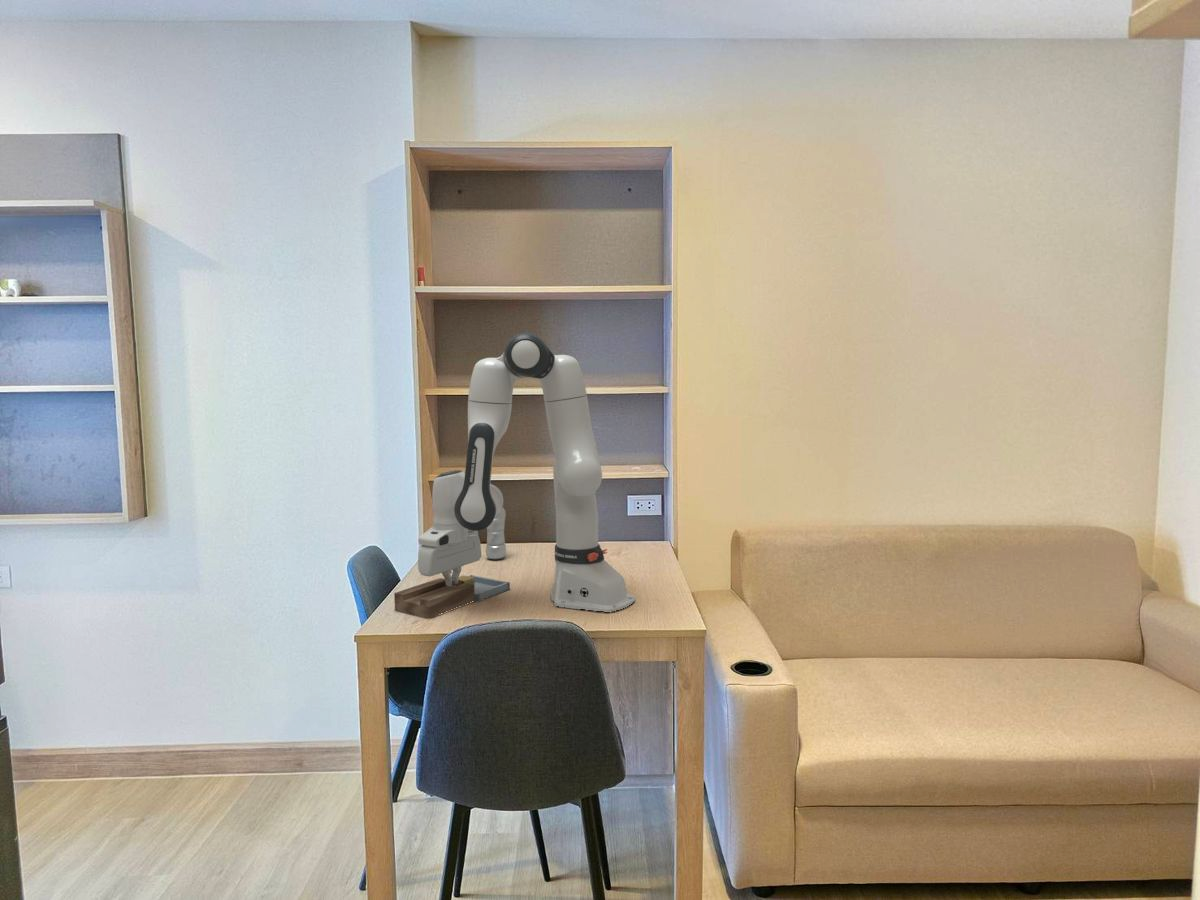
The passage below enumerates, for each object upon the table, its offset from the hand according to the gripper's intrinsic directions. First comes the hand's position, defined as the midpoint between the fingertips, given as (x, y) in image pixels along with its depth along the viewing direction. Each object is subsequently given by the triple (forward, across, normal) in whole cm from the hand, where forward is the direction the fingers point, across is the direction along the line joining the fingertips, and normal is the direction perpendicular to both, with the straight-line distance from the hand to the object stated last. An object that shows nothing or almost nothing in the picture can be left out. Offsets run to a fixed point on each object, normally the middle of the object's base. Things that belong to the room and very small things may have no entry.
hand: (452, 584), depth 194 cm
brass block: (+2, -3, -1) cm, 4 cm away
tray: (+4, -9, 0) cm, 10 cm away
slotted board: (+4, +6, 0) cm, 7 cm away
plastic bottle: (+4, -39, -18) cm, 43 cm away
